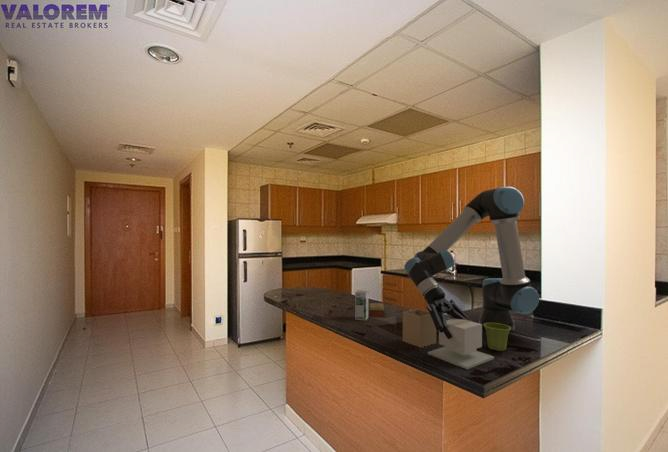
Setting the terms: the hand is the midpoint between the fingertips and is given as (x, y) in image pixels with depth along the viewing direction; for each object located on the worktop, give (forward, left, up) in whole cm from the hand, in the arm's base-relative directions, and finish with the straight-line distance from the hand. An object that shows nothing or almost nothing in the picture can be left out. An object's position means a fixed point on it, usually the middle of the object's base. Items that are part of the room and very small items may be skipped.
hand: (467, 343), depth 114 cm
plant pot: (-13, -14, -6) cm, 20 cm away
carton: (+38, -57, -6) cm, 69 cm away
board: (+2, -2, -6) cm, 6 cm away
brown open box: (+16, -14, -6) cm, 22 cm away
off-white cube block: (+2, -2, -3) cm, 4 cm away
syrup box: (+44, -43, -6) cm, 62 cm away
